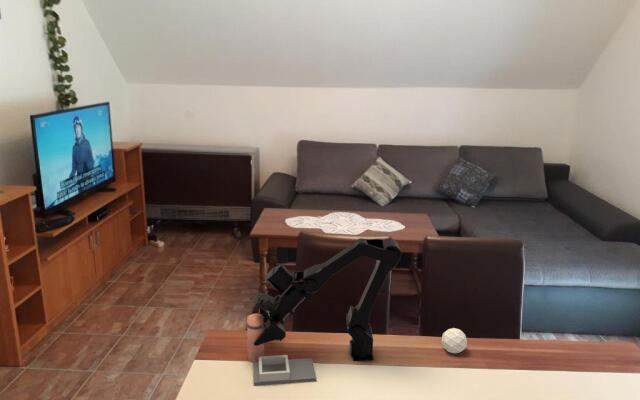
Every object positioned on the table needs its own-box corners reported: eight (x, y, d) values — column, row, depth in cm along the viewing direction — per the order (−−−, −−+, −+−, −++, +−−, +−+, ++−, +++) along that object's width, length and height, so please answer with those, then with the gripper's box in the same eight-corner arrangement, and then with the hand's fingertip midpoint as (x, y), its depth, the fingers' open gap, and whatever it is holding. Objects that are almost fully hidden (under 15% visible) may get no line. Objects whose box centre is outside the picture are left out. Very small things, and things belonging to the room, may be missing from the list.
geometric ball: (454, 355, 165) (466, 333, 166) (461, 360, 157) (474, 338, 158) (434, 342, 166) (446, 321, 166) (441, 347, 158) (454, 325, 158)
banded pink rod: (264, 352, 160) (263, 313, 156) (264, 362, 155) (264, 321, 151) (247, 353, 159) (246, 313, 155) (247, 363, 154) (246, 322, 150)
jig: (311, 361, 156) (312, 351, 155) (316, 381, 146) (316, 370, 145) (253, 364, 153) (252, 354, 152) (253, 385, 144) (253, 375, 143)
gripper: (266, 272, 160) (231, 306, 160) (274, 299, 142) (235, 338, 143) (290, 293, 164) (256, 326, 164) (301, 322, 146) (263, 359, 147)
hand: (252, 336), depth 154 cm, fingers open, 9 cm apart
